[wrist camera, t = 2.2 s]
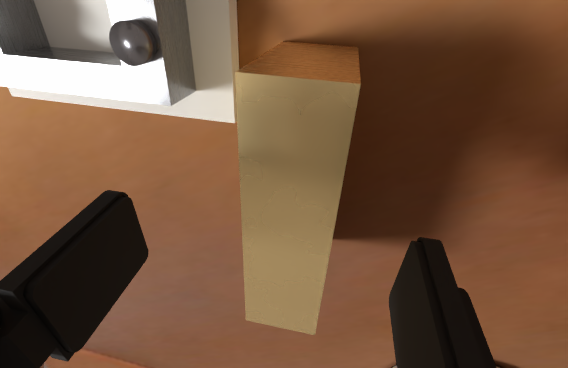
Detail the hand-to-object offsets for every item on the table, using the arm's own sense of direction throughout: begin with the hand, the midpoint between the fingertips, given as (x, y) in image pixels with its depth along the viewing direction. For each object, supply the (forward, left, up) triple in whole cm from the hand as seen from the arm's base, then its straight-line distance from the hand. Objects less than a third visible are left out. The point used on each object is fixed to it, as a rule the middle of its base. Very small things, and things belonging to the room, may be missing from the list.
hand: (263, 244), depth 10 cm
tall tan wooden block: (-1, +1, -8) cm, 8 cm away
